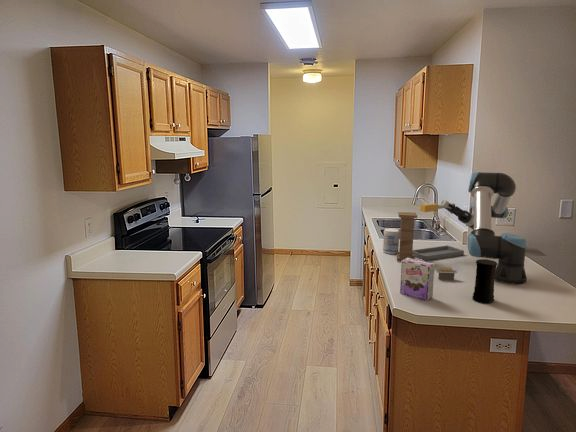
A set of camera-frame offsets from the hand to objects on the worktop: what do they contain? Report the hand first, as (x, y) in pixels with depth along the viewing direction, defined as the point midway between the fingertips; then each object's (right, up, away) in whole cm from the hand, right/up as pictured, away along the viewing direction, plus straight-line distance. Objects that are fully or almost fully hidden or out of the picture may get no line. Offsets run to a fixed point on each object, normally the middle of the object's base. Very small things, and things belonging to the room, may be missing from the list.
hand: (442, 202), depth 253 cm
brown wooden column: (-24, -35, -4) cm, 42 cm away
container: (-6, -47, -66) cm, 81 cm away
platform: (-13, -42, -38) cm, 58 cm away
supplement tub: (-29, -32, +12) cm, 45 cm away
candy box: (-35, -46, -60) cm, 83 cm away
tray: (-2, -33, +5) cm, 33 cm away
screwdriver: (-3, -5, 0) cm, 6 cm away
